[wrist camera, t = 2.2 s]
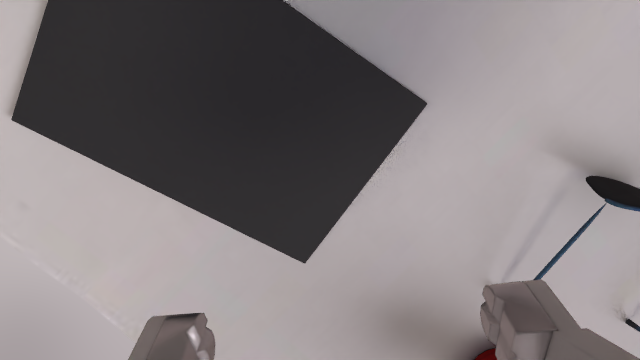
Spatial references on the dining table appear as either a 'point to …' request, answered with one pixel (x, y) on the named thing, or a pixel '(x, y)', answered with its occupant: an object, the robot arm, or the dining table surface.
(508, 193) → the dining table surface
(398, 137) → the mat
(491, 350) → the plastic cup
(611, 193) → the sunglasses
